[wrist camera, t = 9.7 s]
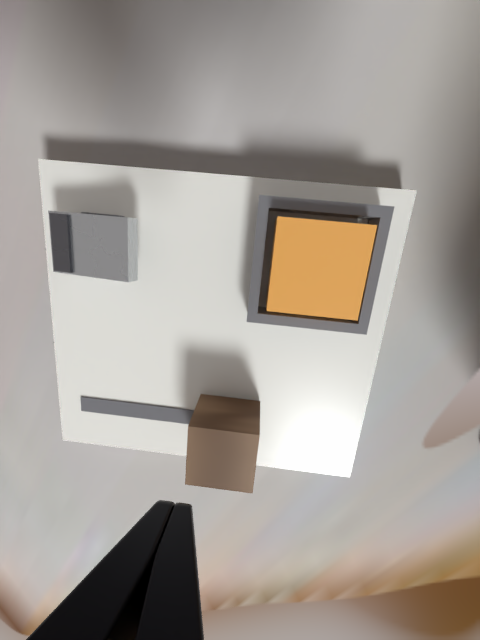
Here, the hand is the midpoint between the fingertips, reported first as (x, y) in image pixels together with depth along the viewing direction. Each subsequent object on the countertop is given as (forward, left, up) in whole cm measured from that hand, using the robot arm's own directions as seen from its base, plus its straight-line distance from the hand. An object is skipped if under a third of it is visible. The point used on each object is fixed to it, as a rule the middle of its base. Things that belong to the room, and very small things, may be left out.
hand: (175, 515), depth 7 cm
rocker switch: (+7, -6, -9) cm, 13 cm away
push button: (-4, -6, -10) cm, 12 cm away
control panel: (+1, -1, -12) cm, 12 cm away
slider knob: (0, +4, -10) cm, 11 cm away
